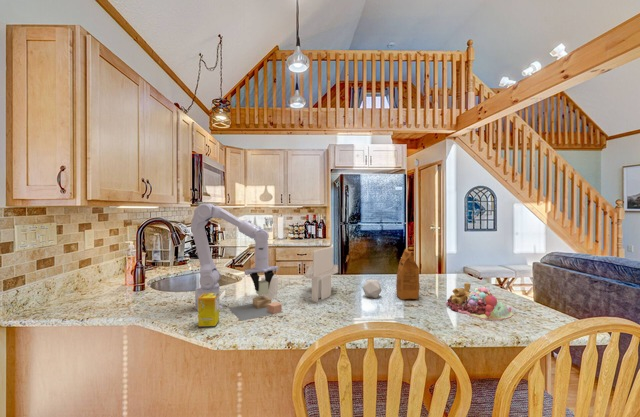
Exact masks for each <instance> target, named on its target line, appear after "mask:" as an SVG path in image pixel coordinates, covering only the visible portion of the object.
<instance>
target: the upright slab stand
mask: <svg viewBox="0 0 640 417" xmlns="http://www.w3.org/2000/svg"><path fill="white" fill-rule="evenodd" d="M333 244H334V243H331V246H329V247H324V248H320V249H319V248H318V249H315V250H312V264H310V265H308V267H307V269H306V272H305V274H304V276H305V278H306V279H311V302H314V303H319V299H320V301H324V300H325V299H326V298H328V297H329V298H330V297H331V296H332V275H335V274H338V273H339V265H338V264H334V261H333V260H334V259H333V258H334V254H333V253H334V245H333Z"/></svg>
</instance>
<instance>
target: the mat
mask: <svg viewBox="0 0 640 417" xmlns="http://www.w3.org/2000/svg"><path fill="white" fill-rule="evenodd" d="M228 309H229V310H230V311H231V313H232V314H234V315H235V317H237V319H239V320H240V321H241V322H243V321H247V320H254V319H258V318H263V317H266V316H272V315H273V314H272V313H270V312H267V307H266V308H261V309H257V308H256V307H255V306H253V303H249V304H248V303H247V304H243V305H237V306H232V307H228ZM281 313H283V311H282V310H281V312H278V313H275V314H274V315H276V314H281Z"/></svg>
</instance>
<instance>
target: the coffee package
mask: <svg viewBox="0 0 640 417" xmlns="http://www.w3.org/2000/svg"><path fill="white" fill-rule="evenodd" d="M413 256H414V252H411V251H410V250H408V249H407V248H404V250H403V253H402V255H401V258H400V260H399V262H398V263H399V264H398V268H397V272H396V284H395V285H396V287H395V288H396V295H397V297H398V298H399V299H400V300H403V301H404V300H416V299H419V297H420V296H419V295H420V294H419V293H420V289H421V288H420V287H421V285H420V268H419V266H418V264H417V262H416V261H415V260H414V257H413Z"/></svg>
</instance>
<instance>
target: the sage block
mask: <svg viewBox="0 0 640 417" xmlns="http://www.w3.org/2000/svg"><path fill="white" fill-rule="evenodd" d="M255 293H256V295H258V296H263V295H265V294H268V282H267V281H265V280H263V281H261V280H259V290H258V291H256V290H255Z"/></svg>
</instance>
